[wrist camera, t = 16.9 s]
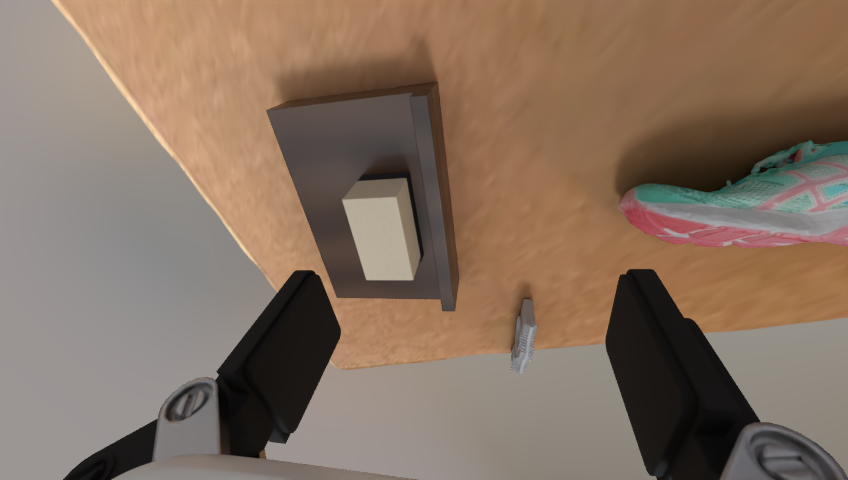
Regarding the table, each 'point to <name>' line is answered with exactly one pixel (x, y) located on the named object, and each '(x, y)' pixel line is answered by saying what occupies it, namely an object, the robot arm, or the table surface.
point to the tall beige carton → (385, 225)
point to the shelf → (363, 155)
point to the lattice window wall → (524, 337)
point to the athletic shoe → (754, 203)
